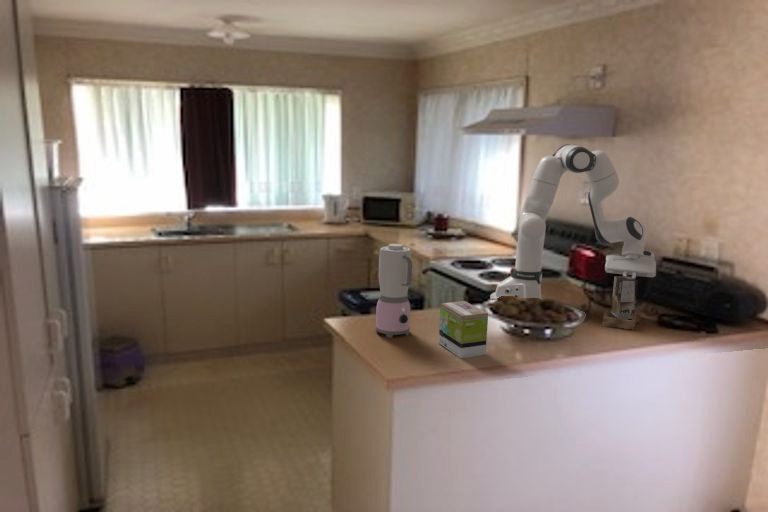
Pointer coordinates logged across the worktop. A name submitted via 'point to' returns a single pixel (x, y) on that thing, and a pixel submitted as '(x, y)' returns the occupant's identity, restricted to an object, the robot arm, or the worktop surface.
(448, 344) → the tea box
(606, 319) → the wooden tray
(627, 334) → the worktop surface
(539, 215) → the robot arm
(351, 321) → the worktop surface
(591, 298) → the worktop surface
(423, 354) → the worktop surface
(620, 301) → the coffee box
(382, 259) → the blender
